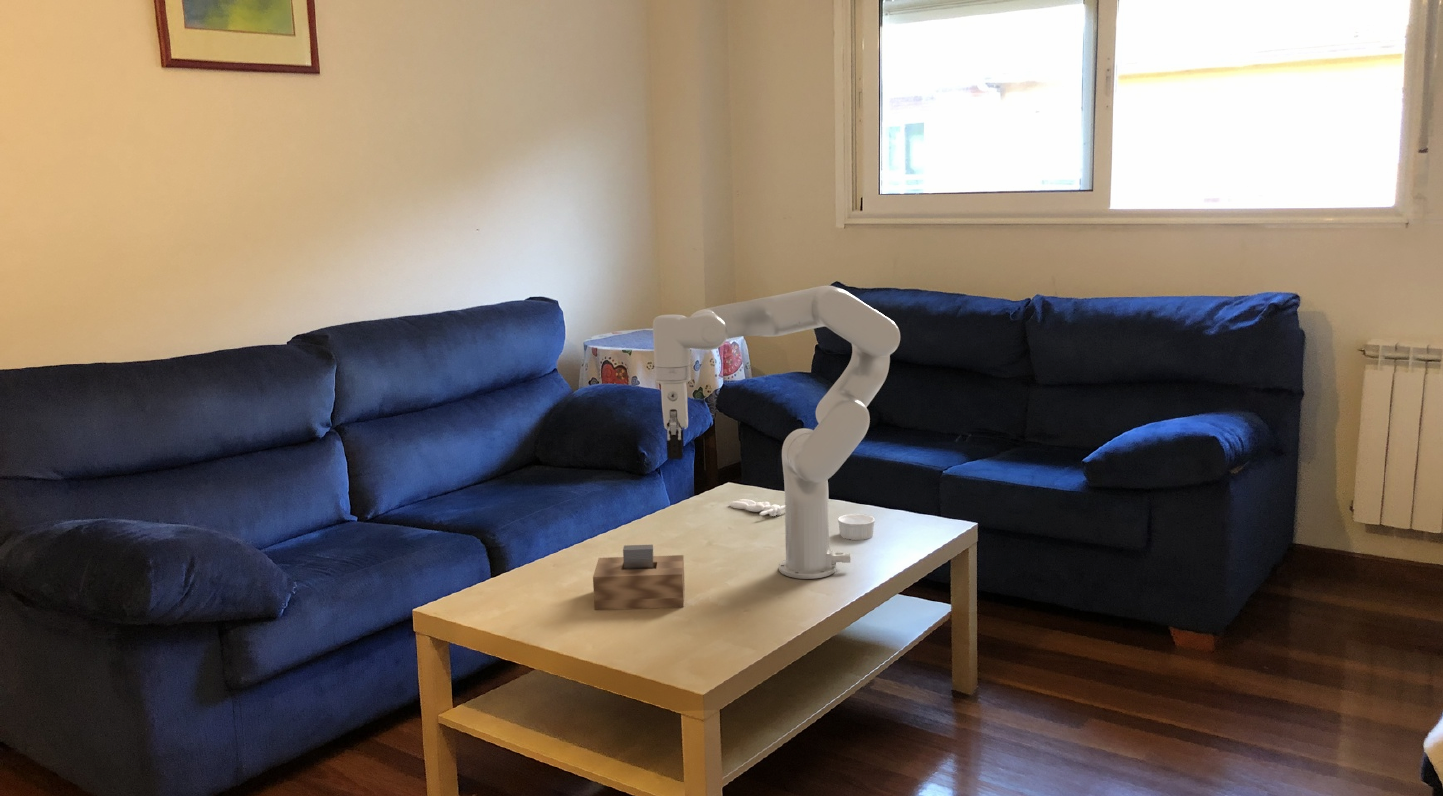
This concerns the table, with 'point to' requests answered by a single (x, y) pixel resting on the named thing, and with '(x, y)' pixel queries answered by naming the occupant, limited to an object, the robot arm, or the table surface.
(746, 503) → the decorative figure
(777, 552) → the table surface
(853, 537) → the ramekin
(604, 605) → the tan slotted block
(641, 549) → the grey rectangular block
